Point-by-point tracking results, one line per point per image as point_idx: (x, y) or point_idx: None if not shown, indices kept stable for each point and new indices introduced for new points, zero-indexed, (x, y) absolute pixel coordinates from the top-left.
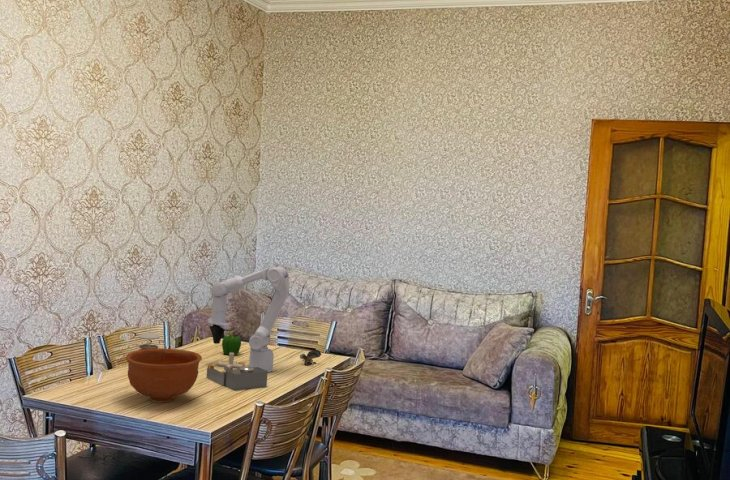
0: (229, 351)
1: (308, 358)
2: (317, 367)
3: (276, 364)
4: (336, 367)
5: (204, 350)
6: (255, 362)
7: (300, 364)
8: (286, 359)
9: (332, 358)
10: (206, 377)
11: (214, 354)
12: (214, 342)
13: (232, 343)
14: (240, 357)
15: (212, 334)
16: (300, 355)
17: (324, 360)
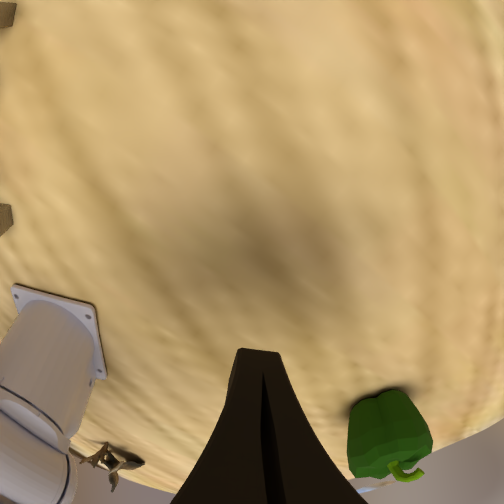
0: (372, 408)
1: (92, 460)
2: (81, 441)
3: (144, 421)
4: (75, 453)
5: (487, 358)
6: (7, 333)
7: (123, 445)
8: (197, 458)
9: (161, 487)
10: (15, 3)
11: (430, 362)
12: (256, 358)
13: (365, 446)
14: (315, 407)
15: (309, 445)
16: (115, 468)
17: (148, 477)
